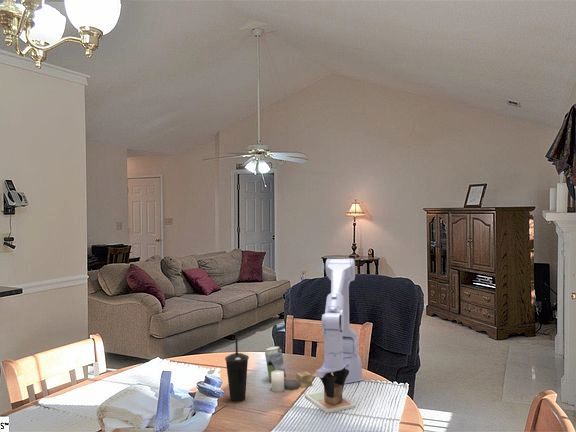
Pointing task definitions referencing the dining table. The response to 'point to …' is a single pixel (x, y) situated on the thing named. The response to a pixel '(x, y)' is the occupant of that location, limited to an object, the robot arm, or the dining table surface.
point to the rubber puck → (291, 384)
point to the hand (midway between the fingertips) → (334, 394)
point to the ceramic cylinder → (277, 381)
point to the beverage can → (274, 360)
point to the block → (337, 395)
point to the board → (327, 407)
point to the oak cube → (304, 379)
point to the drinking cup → (237, 374)
